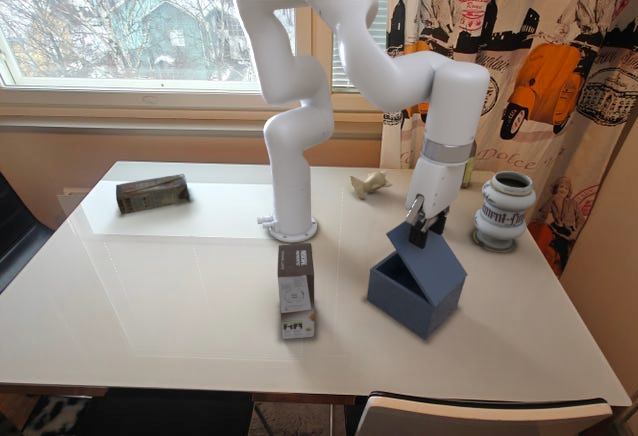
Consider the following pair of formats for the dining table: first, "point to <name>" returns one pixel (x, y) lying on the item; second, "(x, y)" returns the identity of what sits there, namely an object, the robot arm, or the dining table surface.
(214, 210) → the dining table surface
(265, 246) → the dining table surface
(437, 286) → the lid
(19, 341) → the dining table surface
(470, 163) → the sauce bottle
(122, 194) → the beverage carton
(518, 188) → the apothecary jar
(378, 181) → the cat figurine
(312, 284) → the coffee box
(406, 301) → the compartment
